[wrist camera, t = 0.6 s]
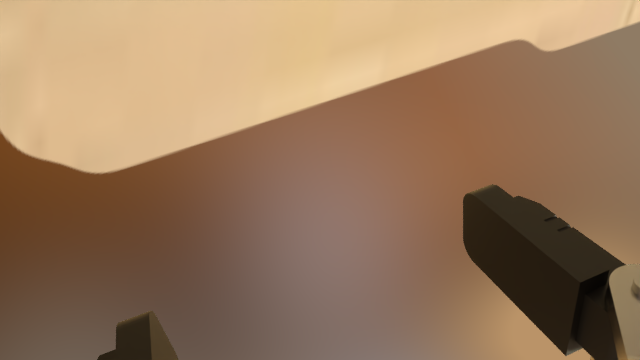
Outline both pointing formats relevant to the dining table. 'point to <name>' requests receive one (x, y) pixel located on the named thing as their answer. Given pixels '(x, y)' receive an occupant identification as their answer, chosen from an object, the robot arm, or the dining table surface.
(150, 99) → the dining table surface
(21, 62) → the dining table surface
